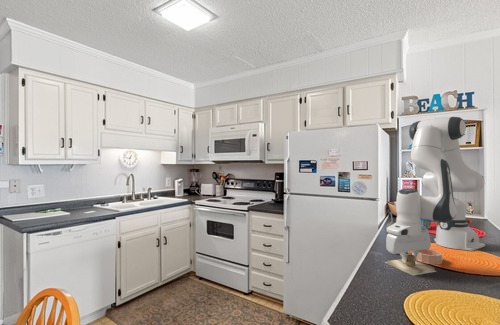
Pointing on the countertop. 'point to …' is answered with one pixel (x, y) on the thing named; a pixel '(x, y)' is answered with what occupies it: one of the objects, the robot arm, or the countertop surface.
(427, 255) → the bowl
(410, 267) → the cover
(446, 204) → the robot arm
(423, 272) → the mat
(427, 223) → the snack cup
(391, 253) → the beverage cup
